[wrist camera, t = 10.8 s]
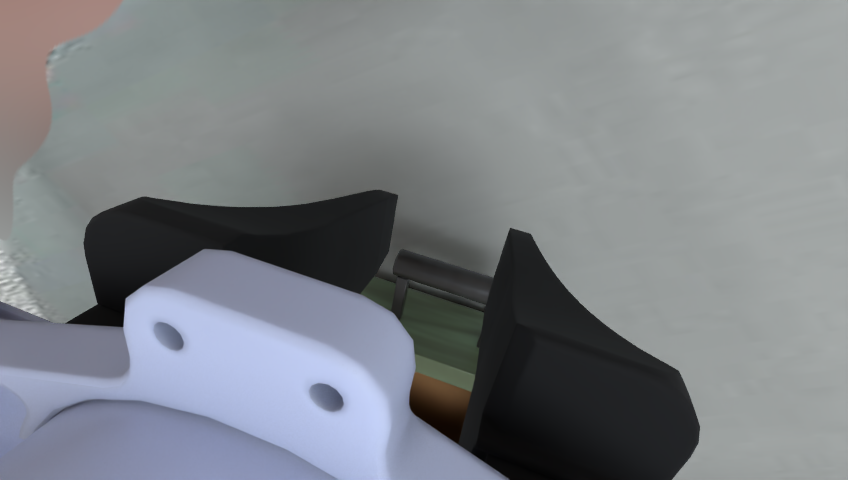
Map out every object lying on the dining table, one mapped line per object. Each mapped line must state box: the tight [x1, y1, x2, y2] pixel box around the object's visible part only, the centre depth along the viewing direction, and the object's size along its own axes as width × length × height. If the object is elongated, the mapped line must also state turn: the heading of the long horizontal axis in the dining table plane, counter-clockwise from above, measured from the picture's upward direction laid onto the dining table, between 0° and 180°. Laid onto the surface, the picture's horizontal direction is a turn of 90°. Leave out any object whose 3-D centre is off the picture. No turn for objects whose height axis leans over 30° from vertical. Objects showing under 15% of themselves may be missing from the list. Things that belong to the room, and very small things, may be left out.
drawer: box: [361, 249, 494, 444], centre depth 25 cm, size 18×11×5 cm, turn 169°
